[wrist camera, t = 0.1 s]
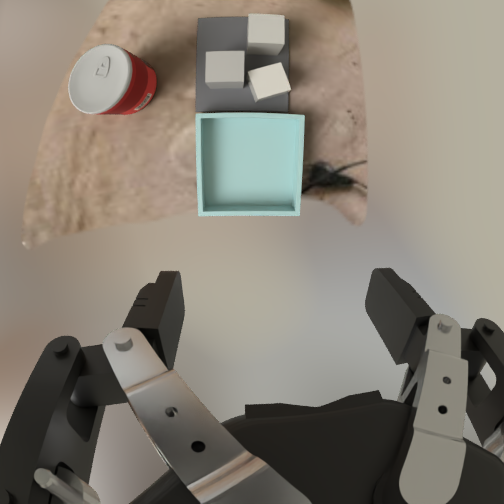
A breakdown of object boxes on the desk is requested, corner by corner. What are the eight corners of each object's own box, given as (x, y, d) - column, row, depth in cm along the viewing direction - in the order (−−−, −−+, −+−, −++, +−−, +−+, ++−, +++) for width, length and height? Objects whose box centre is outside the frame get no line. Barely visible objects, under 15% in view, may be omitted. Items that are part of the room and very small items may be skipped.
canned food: (161, 59, 30) (134, 38, 20) (156, 113, 34) (126, 111, 24) (110, 64, 30) (71, 50, 20) (106, 116, 33) (65, 118, 23)
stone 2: (247, 29, 29) (248, 13, 23) (277, 30, 29) (284, 15, 24) (246, 54, 30) (248, 42, 25) (277, 55, 31) (284, 44, 25)
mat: (198, 19, 28) (198, 18, 28) (288, 20, 29) (288, 19, 28) (196, 111, 34) (195, 111, 34) (287, 112, 35) (287, 112, 34)
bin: (199, 114, 34) (195, 113, 31) (299, 115, 35) (304, 115, 32) (201, 209, 40) (198, 216, 37) (295, 208, 40) (299, 215, 37)
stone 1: (210, 62, 31) (206, 51, 25) (243, 61, 31) (244, 50, 26) (210, 88, 32) (205, 82, 27) (243, 88, 33) (243, 81, 27)
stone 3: (246, 78, 32) (247, 71, 27) (275, 69, 32) (280, 62, 27) (255, 102, 33) (258, 99, 29) (284, 94, 33) (291, 89, 29)
